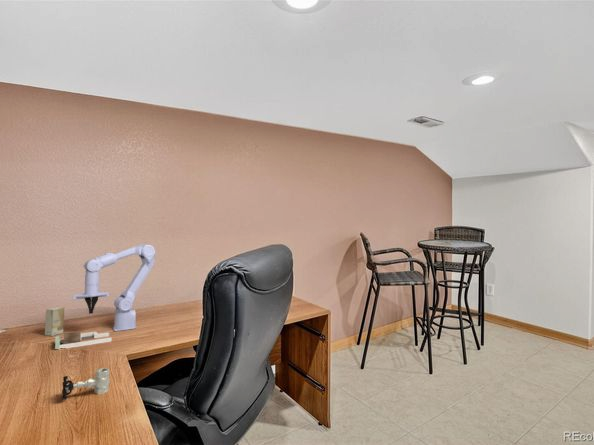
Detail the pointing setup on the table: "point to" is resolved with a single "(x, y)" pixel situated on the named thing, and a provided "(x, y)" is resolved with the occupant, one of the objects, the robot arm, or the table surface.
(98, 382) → the valve
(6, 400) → the table surface
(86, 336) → the lane
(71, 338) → the block
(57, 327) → the skincare box
